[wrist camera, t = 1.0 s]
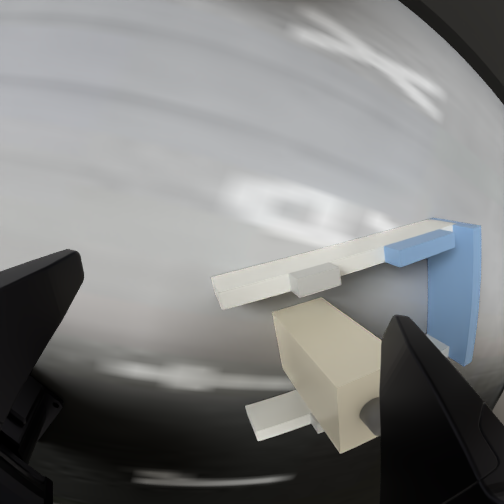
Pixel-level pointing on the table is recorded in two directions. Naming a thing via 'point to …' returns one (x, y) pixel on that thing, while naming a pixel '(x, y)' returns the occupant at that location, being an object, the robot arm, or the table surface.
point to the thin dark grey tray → (470, 33)
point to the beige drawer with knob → (332, 369)
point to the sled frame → (357, 258)
